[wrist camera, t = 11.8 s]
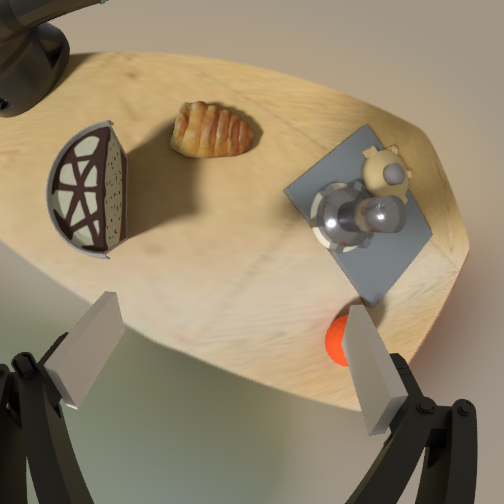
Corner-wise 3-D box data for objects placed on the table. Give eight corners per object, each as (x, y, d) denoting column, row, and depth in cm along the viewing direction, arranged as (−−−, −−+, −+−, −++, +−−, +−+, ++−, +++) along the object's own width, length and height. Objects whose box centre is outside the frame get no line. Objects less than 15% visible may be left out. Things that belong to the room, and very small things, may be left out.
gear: (296, 209, 32) (340, 201, 23) (341, 169, 33) (392, 151, 24) (339, 267, 34) (390, 279, 24) (379, 224, 35) (433, 224, 25)
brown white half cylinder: (82, 151, 28) (48, 124, 18) (129, 146, 29) (108, 114, 19) (80, 254, 29) (41, 263, 19) (128, 252, 30) (103, 261, 20)
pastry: (254, 118, 32) (262, 107, 29) (245, 169, 33) (253, 162, 29) (179, 105, 30) (179, 91, 27) (167, 156, 31) (165, 147, 27)
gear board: (278, 194, 34) (293, 188, 29) (363, 124, 36) (383, 114, 31) (363, 309, 38) (384, 319, 33) (428, 231, 40) (450, 232, 35)
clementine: (323, 298, 36) (352, 312, 29) (365, 302, 38) (396, 314, 31) (311, 355, 36) (335, 377, 29) (352, 354, 38) (380, 373, 31)
